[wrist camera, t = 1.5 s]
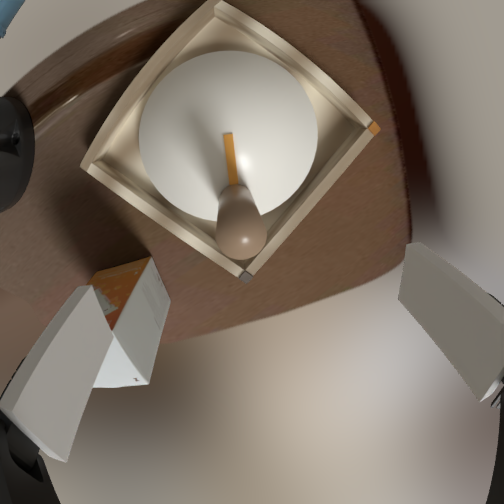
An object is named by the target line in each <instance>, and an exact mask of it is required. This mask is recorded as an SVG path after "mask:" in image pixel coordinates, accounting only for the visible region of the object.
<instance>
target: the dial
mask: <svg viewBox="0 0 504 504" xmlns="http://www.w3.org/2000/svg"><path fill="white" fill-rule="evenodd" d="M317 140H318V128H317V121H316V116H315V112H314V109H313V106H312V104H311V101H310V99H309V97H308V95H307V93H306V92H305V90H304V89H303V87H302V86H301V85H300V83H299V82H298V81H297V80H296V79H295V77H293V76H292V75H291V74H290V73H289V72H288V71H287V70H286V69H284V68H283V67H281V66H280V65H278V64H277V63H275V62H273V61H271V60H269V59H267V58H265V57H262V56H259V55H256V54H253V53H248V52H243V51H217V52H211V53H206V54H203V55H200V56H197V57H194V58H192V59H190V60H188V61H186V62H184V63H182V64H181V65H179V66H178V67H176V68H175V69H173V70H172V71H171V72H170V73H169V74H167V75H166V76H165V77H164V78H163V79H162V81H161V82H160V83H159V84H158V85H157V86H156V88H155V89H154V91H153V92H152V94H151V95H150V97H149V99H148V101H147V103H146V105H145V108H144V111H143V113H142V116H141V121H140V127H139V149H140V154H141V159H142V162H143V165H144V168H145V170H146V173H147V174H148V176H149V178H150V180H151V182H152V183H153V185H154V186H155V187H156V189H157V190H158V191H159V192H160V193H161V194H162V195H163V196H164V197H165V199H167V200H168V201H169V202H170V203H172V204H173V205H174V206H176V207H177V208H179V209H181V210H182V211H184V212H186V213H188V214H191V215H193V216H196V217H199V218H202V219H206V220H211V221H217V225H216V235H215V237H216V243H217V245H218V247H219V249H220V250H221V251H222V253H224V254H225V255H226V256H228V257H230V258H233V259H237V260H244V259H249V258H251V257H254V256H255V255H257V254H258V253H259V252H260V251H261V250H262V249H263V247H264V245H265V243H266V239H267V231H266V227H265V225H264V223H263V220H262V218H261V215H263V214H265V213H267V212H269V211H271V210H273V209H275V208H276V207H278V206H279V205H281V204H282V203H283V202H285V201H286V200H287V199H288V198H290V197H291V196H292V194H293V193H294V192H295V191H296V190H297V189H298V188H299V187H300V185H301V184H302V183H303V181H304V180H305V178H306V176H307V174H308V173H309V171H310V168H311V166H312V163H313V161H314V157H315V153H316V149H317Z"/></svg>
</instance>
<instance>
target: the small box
mask: <svg viewBox="0 0 504 504" xmlns="http://www.w3.org/2000/svg"><path fill="white" fill-rule="evenodd" d="M87 285H92V287H93V289H94V292H95V294H96V297H97V299H98V302H99V304H100V307H101V309H102V311H103V314H104V316H105V318H106V320H107V323H108V325H109V327H110V329H111V331H112V334H113V336H114V338H113V341H112V343H111V345H110V347H109V349H108V352H107V354H106V356H105V359H104V361H103V363H102V366H101V368H100V370H99V373H98V375H97V378H96V380H95V383H94V385H93V388H96V387H104V388H116V387H123V386H136V385H147V384H149V382H150V378H151V373H152V369H153V365H154V361H155V357H156V353H157V349H158V345H159V342H160V338H161V334H162V331H163V327H164V324H165V320H166V316H167V313H168V309H169V306H170V302H171V300H170V298H169V296H168V293H167V291H166V289H165V287H164V284H163V282H162V280H161V277H160V275H159V273H158V270H157V268H156V266H155V263H154V261H153V258H152V256H149V257H147V258H144V259H140V260H137V261H134V262H130V263H127V264H123V265H120V266H116V267H113V268H109V269H105V270H101V271H97V272H96V273H95V274H94V275H93V277H92V278H91V279H90V280H89V282H88V283H87V284H86V285H85V286H87Z"/></svg>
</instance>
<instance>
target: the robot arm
mask: <svg viewBox="0 0 504 504" xmlns="http://www.w3.org/2000/svg"><path fill="white" fill-rule="evenodd" d="M24 1H25V0H0V38H1V37H2V38H3V37H4V36H5V34H6V29H7V27H8V26H9V24H10V23H11V21H12V19H13V18H14V16H15V15H16V13H17V12H18V10H19V9H20V7H21V6H22V5H23V3H24ZM33 161H34V132H33V126H32V122H31V118H30V116H29V113H28V111H27V109H26V108H25V106H24V105H23V104H22V103H21V102H20V101H19V100H17V99H15V98H13V97H0V213H1V212H3V211H5V210H7V209H9V208H11V207H12V206H14V205H15V204H16V203H17V202H18V201H19V200H20V198H21V197H22V195H23V194H24V192H25V190H26V187H27V185H28V182H29V179H30V176H31V172H32V167H33ZM398 300H399V301H400V302H401V303H402V304H403V305H404V306H405V308H406V309H407V310H408V311H409V312H410V313H411V315H412V316H413V317H414V318H415V319H416V320H417V322H418V323H419V324H420V325H421V326H422V327H423V329H424V330H425V331H426V332H427V333H428V334H429V336H430V337H431V338H432V340H433V341H434V342H435V343H436V345H437V346H438V347H439V348H440V349H441V351H442V352H443V353H444V354H445V356H446V357H447V358H448V360H449V361H450V362H451V364H452V365H453V366H454V368H455V369H456V370H457V371H458V373H459V374H460V375H461V377H462V378H463V380H464V381H465V382H466V384H467V385H468V386H469V388H470V389H471V390H472V392H473V393H474V395H475V396H476V398H477V399H478V401H479V402H481V401H482V400H484V399H485V398H487V397H488V396H490V395H491V394H492V393H493V392H494V391H495V389H496V388H497V386H498V385H499V383H500V382H501V381H502V382H503V384H504V305H503V304H502V305H501V302H499V301H498V300H497V299H496V298H495V297H494V296H492V295H491V294H489V293H487V292H485V291H484V290H483V289H482V288H481V287H479V286H478V285H477V284H476V283H474V282H473V281H472V280H471V279H469V278H468V277H467V276H465V275H464V274H463V273H461V272H460V271H459V270H458V269H456V268H455V267H454V266H452V265H451V264H450V263H448V262H447V261H446V260H444V259H443V258H442V257H440V256H439V255H437V254H436V253H435V252H433V251H432V250H430V249H429V248H427V247H426V246H425V245H423V244H422V243H420V242H418V243H411V244H406V252H405V260H404V266H403V274H402V280H401V285H400V290H399V295H398ZM113 338H114V336H113V334H112V331H111V329H110V327H109V325H108V323H107V320H106V318H105V316H104V314H103V311H102V309H101V307H100V304H99V302H98V299H97V297H96V294H95V292H94V289H93V287H92V285H87V286H78V287H77V288H76V290H75V291H74V292H73V293H72V295H71V296H70V297H69V298H68V300H67V301H66V302H65V303H64V305H63V306H62V307H61V309H60V310H59V311H58V312H57V314H56V315H55V316H54V318H53V319H52V320H51V322H50V323H49V325H48V326H47V327H46V329H45V330H44V332H43V333H42V334H41V336H40V337H39V339H38V340H37V342H36V343H35V344H34V346H33V348H32V349H31V350H30V352H29V354H28V355H27V356H26V357H25V358H24V359H23V360H22V362H21V363H20V365H19V366H18V368H17V369H16V370H17V372H15V373H14V374H13V376H12V380H10V381H9V383H8V384H7V386H6V388H5V390H4V391H3V393H2V395H1V397H0V504H61V503H60V501H59V499H58V497H57V494H56V492H55V490H54V487H53V485H52V482H51V480H50V477H49V475H48V472H47V469H46V466H45V463H44V460H43V458H42V457H41V456H40V455H39V454H38V452H39V449H41V450H42V451H44V452H45V453H46V454H47V455H48V456H50V457H51V458H54V459H57V460H60V461H63V462H67V460H68V457H69V453H70V450H71V447H72V444H73V441H74V437H75V434H76V431H77V428H78V425H79V423H80V420H81V417H82V414H83V411H84V409H85V406H86V403H87V400H88V398H89V395H90V393H91V390H92V388H93V385H94V383H95V380H96V378H97V375H98V373H99V370H100V368H101V366H102V363H103V361H104V359H105V356H106V354H107V352H108V349H109V347H110V345H111V343H112V341H113ZM499 399H500V402H499V404H498V405H497V407H496V408H499V409H500V425H499V437H498V446H497V454H496V461H495V466H494V471H493V476H492V481H491V486H490V490H489V494H488V498H487V501H486V504H504V387H503V388H502V389H501V391H500V392H499V393H498V395H497V396H496V398H495V399H494V400H493V402H492V404H491V408H493V407H494V406H495V404H496V403H497V402H498V401H499Z"/></svg>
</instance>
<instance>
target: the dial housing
mask: <svg viewBox="0 0 504 504" xmlns="http://www.w3.org/2000/svg"><path fill="white" fill-rule="evenodd" d="M217 51H243V52H248V53H253V54H256V55H259V56H262V57H265V58H267V59H269V60H271V61H273V62H275V63H277V64H278V65H280V66H281V67H283V68H284V69H286V70H287V71H288V72H289V73H290V74H291V75H292V76H293V77H295V79H296V80H297V81H298V82H299V83H300V85H301V86H302V87H303V89H304V90H305V92H306V93H307V95H308V97H309V99H310V101H311V104H312V106H313V109H314V112H315V116H316V121H317V128H318V140H317V149H316V153H315V157H314V161H313V163H312V166H311V168H310V171H309V173H308V174H307V176H306V178H305V180H304V181H303V183H302V184H301V185H300V187H299V188H298V189H297V190H296V191H295V192H294V193H293V194H292V196H291V197H290V198H288V199H287V200H286V201H285V202H283V203H282V204H281V205H279V206H278V207H276V208H275V209H273V210H271V211H269V212H267V213H265V214H263V215H261V218H262V220H263V223H264V225H265V227H266V231H267V239H266V243H265V245H264V247H263V249H262V250H261V251H260V252H259V253H258V254H257V255H255V256H254V257H251V258H249V259H244V260H237V259H233V258H230V257H228V256H226V255H225V254H224V253H222V251H221V250H220V249H219V247H218V245H217V243H216V237H215V235H216V225H217V221H211V220H206V219H202V218H199V217H196V216H193V215H191V214H188V213H186V212H184V211H182V210H181V209H179V208H177V207H176V206H174V205H173V204H172V203H170V202H169V201H168V200H167V199H165V197H164V196H163V195H162V194H161V193H160V192H159V191H158V190H157V189H156V187H155V186H154V185H153V183H152V182H151V180H150V178H149V176H148V174H147V173H146V170H145V168H144V165H143V162H142V159H141V154H140V149H139V127H140V121H141V116H142V113H143V111H144V108H145V105H146V103H147V101H148V99H149V97H150V95H151V94H152V92H153V91H154V89H155V88H156V86H157V85H158V84H159V83H160V82H161V81H162V79H163V78H164V77H165V76H166V75H167V74H169V73H170V72H171V71H172V70H173V69H175V68H176V67H178V66H179V65H181V64H182V63H184V62H186V61H188V60H190V59H192V58H194V57H197V56H200V55H203V54H206V53H211V52H217ZM380 129H381V128H380V127H379V126H378V125H377V124H376V123H375V122H374V121H373V120H372V119H371V118H370V117H369V116H368V115H367V114H366V113H365V112H364V111H363V110H362V109H361V108H360V107H359V105H358V104H357V103H356V102H355V101H354V100H353V99H352V98H351V97H350V96H349V95H348V94H347V93H346V92H345V91H344V90H342V89H341V88H340V87H339V86H338V85H337V84H336V83H335V82H334V81H333V80H332V79H331V78H330V77H329V76H327V75H326V74H325V73H324V72H323V71H322V70H321V69H320V68H318V67H317V66H316V65H315V64H314V63H313V62H311V61H310V60H309V59H308V58H306V57H305V56H304V55H303V54H302V53H300V52H299V51H298V50H296V49H295V48H294V47H293V46H291V45H290V44H289V43H287V42H286V41H285V40H283V39H282V38H281V37H279V36H278V35H276V34H275V33H274V32H272V31H271V30H269V29H268V28H266V27H265V26H263V25H262V24H260V23H259V22H257V21H256V20H254V19H253V18H251V17H249V16H248V15H246V14H245V13H243V12H241V11H240V10H238V9H236V8H235V7H233V6H231V5H229V4H228V3H226V2H224V1H222V0H207V1H206V2H205V3H204V4H203V5H202V6H200V7H199V8H198V9H197V10H196V11H195V12H194V13H193V14H192V15H191V16H190V17H189V18H188V19H187V20H186V21H185V22H184V23H183V24H182V25H181V26H180V27H179V28H178V29H177V30H176V31H175V32H174V33H173V34H172V35H171V36H170V37H169V38H168V39H167V40H166V41H165V42H164V44H163V45H162V46H161V47H160V48H159V49H158V50H157V51H156V53H155V54H154V55H153V56H152V57H151V58H150V60H149V61H148V62H147V63H146V65H145V66H144V67H143V68H142V69H141V71H140V72H139V73H138V75H137V76H136V77H135V78H134V80H133V81H132V82H131V84H130V85H129V87H128V88H127V89H126V91H125V92H124V93H123V95H122V96H121V98H120V99H119V101H118V102H117V104H116V105H115V107H114V108H113V110H112V111H111V113H110V114H109V116H108V117H107V119H106V120H105V122H104V124H103V125H102V127H101V129H100V130H99V132H98V134H97V135H96V137H95V139H94V140H93V142H92V144H91V146H90V148H89V149H88V151H87V153H86V155H85V157H84V159H83V161H82V163H81V164H80V167H81V168H82V169H84V170H85V171H86V172H88V173H89V174H90V175H92V176H93V177H94V178H96V179H97V180H98V181H100V182H101V183H103V184H104V185H105V186H107V187H108V188H109V189H111V190H112V191H114V192H115V193H116V194H118V195H119V196H120V197H122V198H123V199H125V200H126V201H127V202H129V203H130V204H132V205H133V206H134V207H136V208H137V209H139V210H140V211H141V212H143V213H144V214H146V215H147V216H149V217H150V218H151V219H153V220H154V221H156V222H157V223H159V224H160V225H161V226H163V227H164V228H166V229H167V230H169V231H170V232H171V233H173V234H174V235H176V236H177V237H179V238H180V239H182V240H183V241H185V242H186V243H187V244H189V245H190V246H192V247H193V248H195V249H196V250H198V251H199V252H201V253H202V254H204V255H205V256H207V257H208V258H210V259H211V260H213V261H214V262H216V263H217V264H219V265H220V266H222V267H223V268H225V269H226V270H228V271H229V272H231V273H232V274H234V275H235V276H237V277H238V278H239V279H240V280H241V281H243V282H244V283H246V284H247V283H248V282H249V281H250V280H251V279H252V278H253V275H254V274H255V273H256V272H257V271H258V270H259V268H260V267H261V266H262V265H263V264H264V263H265V262H266V261H267V259H268V258H269V257H270V256H271V255H272V254H273V253H274V251H275V250H276V249H277V248H278V247H279V246H280V245H281V244H282V242H283V241H284V240H285V239H286V238H287V237H288V236H289V234H290V233H291V232H292V231H293V230H294V229H295V228H296V226H297V225H298V224H299V223H300V222H301V221H302V219H303V218H304V217H305V216H306V215H307V214H308V213H309V211H310V210H311V209H312V208H313V207H314V206H315V204H316V203H317V202H318V201H319V200H320V199H321V198H322V196H323V195H324V194H325V193H326V192H327V191H328V189H329V188H330V187H331V186H332V185H333V184H334V182H335V181H336V180H337V179H338V178H339V177H340V175H341V174H342V173H343V172H344V171H345V169H346V168H347V167H348V166H349V165H350V164H351V162H352V161H353V160H354V159H355V158H356V156H357V155H358V154H359V153H360V152H361V151H362V149H363V148H364V147H365V146H366V145H367V143H368V142H369V141H370V140H371V139H372V137H373V136H375V135H376V134H377V133H378V132H379V130H380Z"/></svg>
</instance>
